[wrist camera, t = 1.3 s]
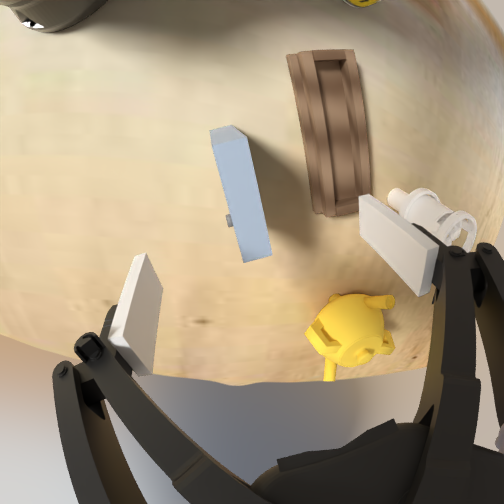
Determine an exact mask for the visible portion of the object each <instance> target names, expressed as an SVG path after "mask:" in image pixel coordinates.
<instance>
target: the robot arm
mask: <svg viewBox="0 0 504 504" xmlns="http://www.w3.org/2000/svg"><path fill="white" fill-rule="evenodd" d="M106 1H107V0H0V5H4V6H8V7H10V8H11V10H12V11H13V12H14V14H15V15H16V16H17V18H18V19H19V20H20V22H21V23H22V24H23V25H24V26H26V27H27V28H29V29H32V30H36V31H40V32H55V31H59V30H62V29H65V28H68V27H70V26H72V25H74V24H76V23H78V22H80V21H82V20H83V19H85V18H86V17H88V16H89V15H91V14H92V13H94V12H95V11H96V10H97V9H98V8H100V7H101V6H102V5H103V4H104V3H105V2H106ZM359 222H360V236H361V237H362V238H363V239H364V240H365V241H366V242H367V243H368V244H369V245H370V246H371V247H372V248H373V249H374V250H375V251H376V252H377V253H378V254H379V255H380V256H381V257H382V258H383V259H384V260H385V261H386V262H387V263H388V264H389V265H390V267H391V268H392V269H393V270H394V271H395V272H396V273H397V274H398V275H399V276H400V277H401V278H402V280H403V281H404V282H405V283H406V284H407V285H408V286H409V287H410V288H411V290H412V291H413V292H414V293H415V294H416V295H417V296H418V297H420V296H422V295H425V294H427V293H429V292H430V288H431V284H432V283H433V284H434V285H435V286H436V290H435V294H434V297H433V301H432V304H434V314H433V326H432V335H431V344H430V351H429V358H428V365H427V371H426V376H425V382H424V387H423V392H422V396H421V401H420V405H419V408H418V411H417V414H416V416H415V418H414V421H413V423H397V424H396V423H395V420H394V419H391V420H389V421H387V422H385V423H383V424H381V425H378V426H376V427H374V428H372V429H369V430H367V431H366V432H364V433H363V434H361V435H360V436H358V437H357V438H356V439H354V440H353V441H351V442H350V443H348V444H347V445H345V446H343V447H342V448H339V449H332V450H321V451H308V452H303V453H301V454H296V455H292V456H288V457H284V458H281V459H277V463H278V465H276V466H274V467H272V468H270V469H269V470H267V471H266V472H264V473H263V474H262V475H260V476H259V477H258V478H257V479H256V480H255V482H254V483H253V484H252V485H249V484H248V483H246V482H245V481H244V480H242V479H241V478H239V477H238V476H236V475H235V474H233V473H232V472H231V471H229V470H228V469H227V468H226V467H224V466H223V465H221V464H220V463H219V462H218V461H216V460H215V459H214V458H213V457H212V456H211V455H209V454H208V453H207V452H206V451H205V450H203V449H202V448H201V447H200V446H199V445H198V444H197V443H195V442H194V441H193V440H192V439H191V438H190V437H189V436H188V435H187V434H186V433H185V432H183V431H182V430H181V429H180V428H179V427H178V426H177V425H176V424H175V423H174V422H173V421H172V420H171V419H170V418H169V417H168V416H167V415H166V414H165V413H164V412H163V411H162V410H161V409H160V408H159V407H158V406H157V405H156V404H155V403H154V401H153V400H152V399H151V398H150V397H149V396H148V395H147V394H146V393H145V392H144V390H143V389H142V388H141V387H140V386H139V385H138V384H137V383H136V381H135V380H134V379H133V378H132V377H131V375H132V370H133V371H134V372H135V373H136V374H137V375H138V376H146V375H152V373H153V362H154V353H155V344H156V336H157V328H158V320H159V313H160V306H161V300H162V293H163V287H162V285H161V283H160V281H159V279H158V277H157V275H156V273H155V271H154V268H153V266H152V264H151V262H150V260H149V258H148V256H147V253H143V254H139V255H136V256H135V257H134V260H133V262H132V265H131V268H130V270H129V273H128V276H127V279H126V282H125V284H124V287H123V290H122V293H121V296H120V299H119V302H118V304H117V305H113V306H112V307H111V309H110V310H109V311H108V313H107V315H106V318H105V322H104V325H103V328H102V331H101V334H100V337H98V336H97V335H96V334H95V333H94V332H89V333H85V334H84V335H82V336H81V337H80V338H79V339H78V340H77V341H76V343H75V346H74V351H75V353H76V354H77V355H78V356H79V358H80V359H81V360H82V361H83V362H82V363H80V364H78V365H76V366H74V365H73V364H72V363H71V362H69V361H62V362H60V363H59V364H58V365H57V366H56V367H55V369H54V371H53V376H52V378H53V389H54V399H55V407H56V414H57V420H58V427H59V432H60V438H61V442H62V447H63V452H64V456H65V459H66V464H67V468H68V471H69V474H70V478H71V482H72V485H73V488H74V491H75V494H76V497H77V500H78V503H79V504H147V502H146V501H145V499H144V497H143V495H142V493H141V491H140V489H139V487H138V485H137V483H136V481H135V479H134V477H133V475H132V472H131V471H130V468H129V466H128V464H127V461H126V459H125V457H124V454H123V452H122V449H121V447H120V444H119V442H118V439H117V437H116V434H115V431H114V428H113V426H112V423H111V420H110V417H109V414H108V411H107V408H106V405H105V401H104V399H107V400H108V402H109V403H110V405H111V406H112V408H113V409H114V411H115V412H116V414H117V415H118V416H119V418H120V419H121V420H122V422H123V423H124V425H125V426H126V427H127V429H128V430H129V431H130V433H131V434H132V435H133V436H134V438H135V439H136V440H137V441H138V442H139V444H140V445H141V446H142V448H143V449H144V450H145V451H146V452H147V453H148V455H149V456H150V457H151V458H152V459H153V460H154V461H155V463H156V464H157V465H158V466H159V467H160V468H161V469H162V470H163V471H164V472H165V473H166V474H167V475H168V477H169V478H170V479H171V480H172V485H173V486H174V488H175V489H176V490H177V491H178V492H179V493H180V494H181V495H182V496H183V497H184V498H185V499H186V500H187V501H188V502H189V503H190V504H504V260H503V259H502V257H501V256H500V254H499V252H498V251H497V249H496V248H495V247H494V246H492V245H491V244H488V243H484V242H483V243H479V244H478V245H477V248H476V252H469V253H467V252H466V251H465V250H464V249H463V248H461V247H458V246H446V245H445V244H444V243H443V242H441V241H440V240H439V239H438V238H436V237H435V236H434V235H432V234H431V233H430V232H428V231H427V230H426V229H425V228H423V227H422V226H420V225H417V224H415V223H412V224H411V223H409V222H408V221H407V220H405V219H404V218H403V217H401V216H400V215H399V214H397V213H396V212H394V211H393V210H392V209H390V208H389V207H387V206H386V205H384V204H383V203H382V202H380V201H379V200H377V199H376V198H374V197H373V196H371V195H370V194H366V195H362V196H359ZM475 318H476V320H477V324H478V327H479V331H480V334H481V338H482V341H483V345H484V349H485V353H486V357H487V362H488V366H489V371H490V376H491V381H492V387H493V393H494V400H495V407H496V412H497V418H498V422H499V426H500V431H499V436H498V437H497V438H496V441H495V445H496V447H497V448H498V449H499V452H497V451H493V450H490V449H487V448H484V447H481V446H478V445H475V444H473V443H474V438H475V433H476V426H477V420H478V412H479V402H480V391H481V381H480V379H476V377H475V370H476V368H475V367H476V325H475Z"/></svg>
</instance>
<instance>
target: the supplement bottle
mask: <svg viewBox="0 0 504 504" xmlns="http://www.w3.org/2000/svg"><path fill="white" fill-rule="evenodd" d="M343 1H344V2H346V3H347V4H348V5H350V6H352V7H356V8H363V7H366V6H369V5H371V4H374V3H377V2H379V1H382V0H343Z"/></svg>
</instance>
